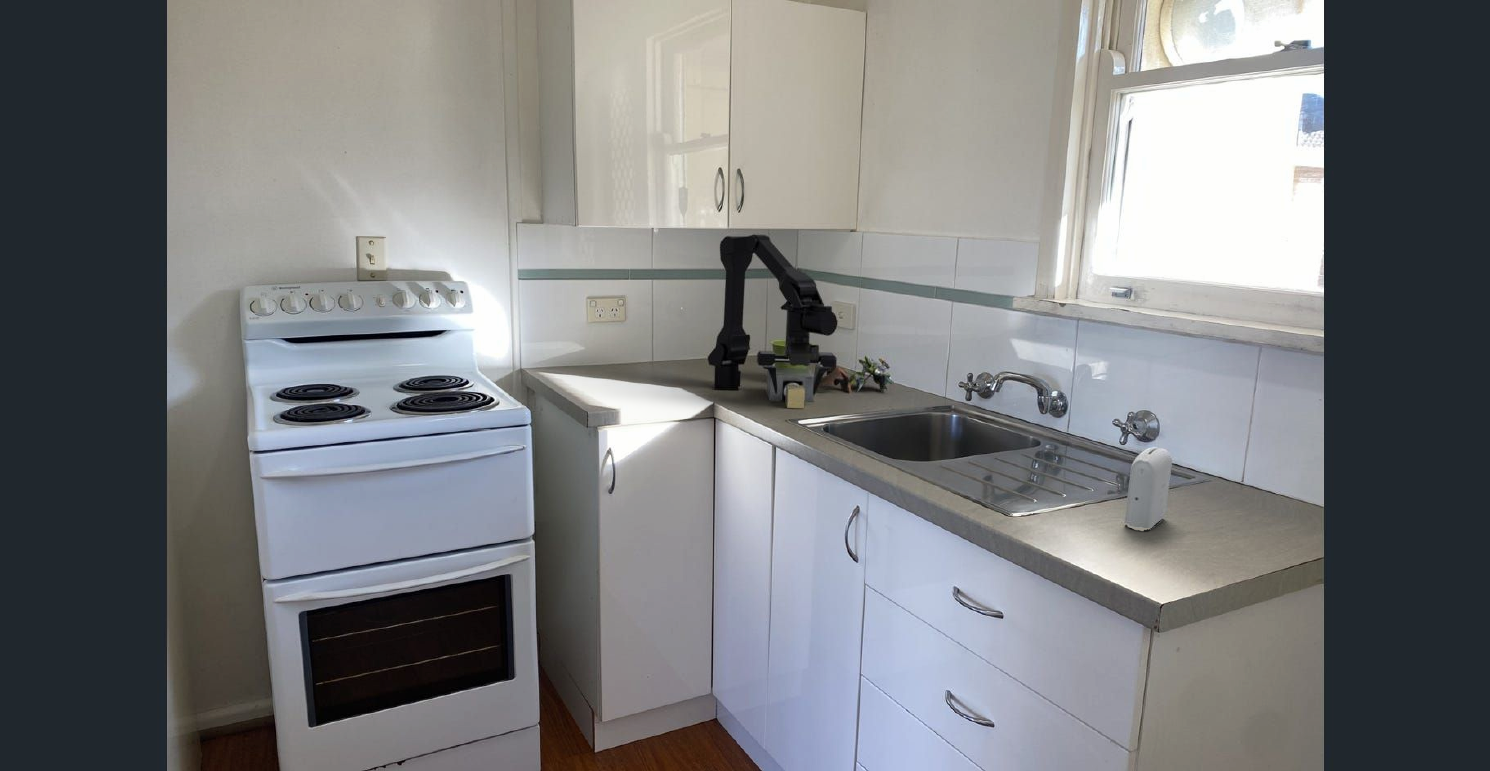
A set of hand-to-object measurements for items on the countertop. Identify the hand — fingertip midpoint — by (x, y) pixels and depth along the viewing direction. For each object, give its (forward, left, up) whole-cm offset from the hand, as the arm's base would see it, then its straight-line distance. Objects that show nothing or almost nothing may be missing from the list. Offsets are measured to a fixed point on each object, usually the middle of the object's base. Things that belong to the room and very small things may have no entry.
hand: (794, 394), depth 222 cm
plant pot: (+2, +29, -3) cm, 29 cm away
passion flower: (+22, +21, -3) cm, 31 cm away
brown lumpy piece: (+12, +21, -3) cm, 24 cm away
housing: (0, +11, -3) cm, 12 cm away
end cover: (0, +6, -3) cm, 7 cm away
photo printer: (+48, -80, -3) cm, 93 cm away
